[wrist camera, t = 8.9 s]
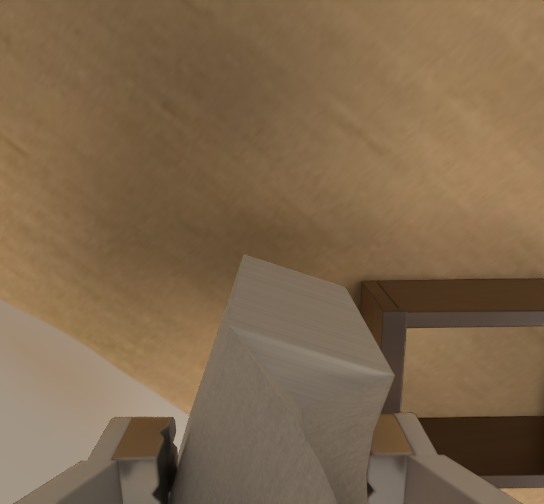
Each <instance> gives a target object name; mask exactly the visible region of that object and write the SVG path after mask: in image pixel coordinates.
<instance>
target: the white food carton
mask: <svg viewBox="0 0 544 504" xmlns="http://www.w3.org/2000/svg"><path fill="white" fill-rule="evenodd" d="M394 377H395V375H394V373H393V372H392V370H391V368H390V366H389V364H388V363H387V361H386V359H385V357H384V355H383V354H382V352H381V350H380V348H379V346H378V345H377V343H376V341H375V339H374V337H373V336H372V334H371V332H370V330H369V328H368V327H367V325H366V323H365V321H364V319H363V318H362V316H361V314H360V312H359V310H358V309H357V307H356V305H355V303H354V301H353V300H352V298H351V296H350V294H349V292H348V291H347V289H346V287H344V286H341V285H338V284H335V283H332V282H329V281H325V280H322V279H319V278H316V277H313V276H310V275H307V274H304V273H301V272H298V271H295V270H292V269H288V268H285V267H282V266H279V265H276V264H273V263H270V262H267V261H264V260H261V259H258V258H255V257H252V256H248V255H245V254H243V257H242V260H241V263H240V266H239V269H238V272H237V275H236V278H235V281H234V284H233V287H232V290H231V293H230V296H229V299H228V302H227V305H226V308H225V311H224V314H223V317H222V320H221V323H220V326H219V329H218V332H217V335H216V338H215V341H214V344H213V347H212V350H211V353H210V356H209V359H208V362H207V365H206V368H205V371H204V374H203V377H202V380H201V383H200V386H199V389H198V392H197V395H196V398H195V401H194V404H193V407H192V410H191V413H190V416H189V419H188V423H187V426H186V430H185V433H184V437H183V440H182V443H181V447H180V450H179V454H178V467H177V472H176V475H175V479H174V483H173V486H172V489H171V492H169V501H168V504H368V500H367V480H366V472H367V466H368V460H369V455H370V449H371V443H372V437H373V432H374V429H375V426H376V424H377V421H378V419H379V416H380V413H381V411H382V408H383V405H384V403H385V400H386V398H387V395H388V392H389V390H390V387H391V384H392V382H393V379H394Z"/></svg>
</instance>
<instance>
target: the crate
mask: <svg viewBox="0 0 544 504" xmlns="http://www.w3.org/2000/svg"><path fill="white" fill-rule="evenodd" d="M361 316H362V318H363V319H364V321H365V323H366V325H367V327H368V328H369V330H370V332H371V334H372V336H373V337H374V339H375V341H376V343H377V345H378V346H379V348H380V350H381V352H382V354H383V355H384V357H385V359H386V361H387V363H388V364H389V366H390V368H391V370H392V372H393V373H394V375H395V377H394V379H393V382H392V384H391V387H390V390H389V392H388V395H387V398H386V400H385V403H384V405H383V408H382V411H381V413H380V414H393V413H401V398H402V384H403V370H404V355H405V341H406V328H445V327H521V326H544V279H485V280H402V281H377V282H376V281H362V295H361ZM418 420H419V422H420V424H421V426H422V427H423V429H424V431H425V433H426V434H427V436H428V438H429V440H430V441H431V443H432V445H433V447H434V449H435V450H436V452H437V454H438V455H445V456H447V457H448V458H450V459H451V460H453V461H455V462H456V463H458V464H460V465H461V466H463V467H464V468H466V469H468V470H469V471H471V472H472V473H474V474H476V475H477V476H479V477H480V478H482V479H484V480H485V481H487V482H488V483H490V484H492V485H493V486H495V487H497V488H544V417H486V418H420V419H418Z"/></svg>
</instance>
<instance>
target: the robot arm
mask: <svg viewBox="0 0 544 504" xmlns="http://www.w3.org/2000/svg"><path fill="white" fill-rule="evenodd" d="M175 434H176V426H175V420H174V418H173V417H114V418H112V419H111V420H110V422H109V424H108V425H107V427H106V429H105V430H104V432H103V434H102V435H101V437H100V439H99V441H98V443H97V444H96V446H95V448H94V449H93V451H92V453H91V455H90V456H89V458H88V460H87V461H80V462H78V463H77V464H75V465H73V466H72V467H70V468H69V469H67V470H65V471H64V472H62V473H61V474H59V475H58V476H56V477H54V478H53V479H51V480H50V481H48V482H47V483H45V484H43V485H42V486H40V487H39V488H37V489H36V490H34V491H32V492H31V493H29V494H28V495H26V496H25V497H23V498H21V499H20V500H18V501H17V502H15V503H13V504H168V501H169V492H171V489H172V486H173V483H174V479H175V475H176V472H177V467H178V452H177V447H176V446H175V445H174V443H173V441H174V437H175ZM366 480H367V500H368V504H522V503H521V502H519V501H517V500H516V499H514V498H513V497H511V496H509V495H508V494H506V493H505V492H503V491H501V490H500V489H498V488H497V487H495V486H493V485H492V484H490V483H488V482H487V481H485V480H484V479H482V478H480V477H479V476H477V475H476V474H474V473H472V472H471V471H469V470H468V469H466V468H464V467H463V466H461V465H460V464H458V463H456V462H455V461H453V460H451V459H450V458H448V457H447V456H445V455H438V454H437V452H436V450H435V449H434V447H433V445H432V443H431V441H430V440H429V438H428V436H427V434H426V433H425V431H424V429H423V427H422V426H421V424H420V422H419V420H418V419H417V417H416V415H415V414H414V413H412V412H407V413H393V414H380V416H379V419H378V421H377V424H376V426H375V429H374V432H373V437H372V443H371V449H370V455H369V460H368V466H367V472H366Z"/></svg>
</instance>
